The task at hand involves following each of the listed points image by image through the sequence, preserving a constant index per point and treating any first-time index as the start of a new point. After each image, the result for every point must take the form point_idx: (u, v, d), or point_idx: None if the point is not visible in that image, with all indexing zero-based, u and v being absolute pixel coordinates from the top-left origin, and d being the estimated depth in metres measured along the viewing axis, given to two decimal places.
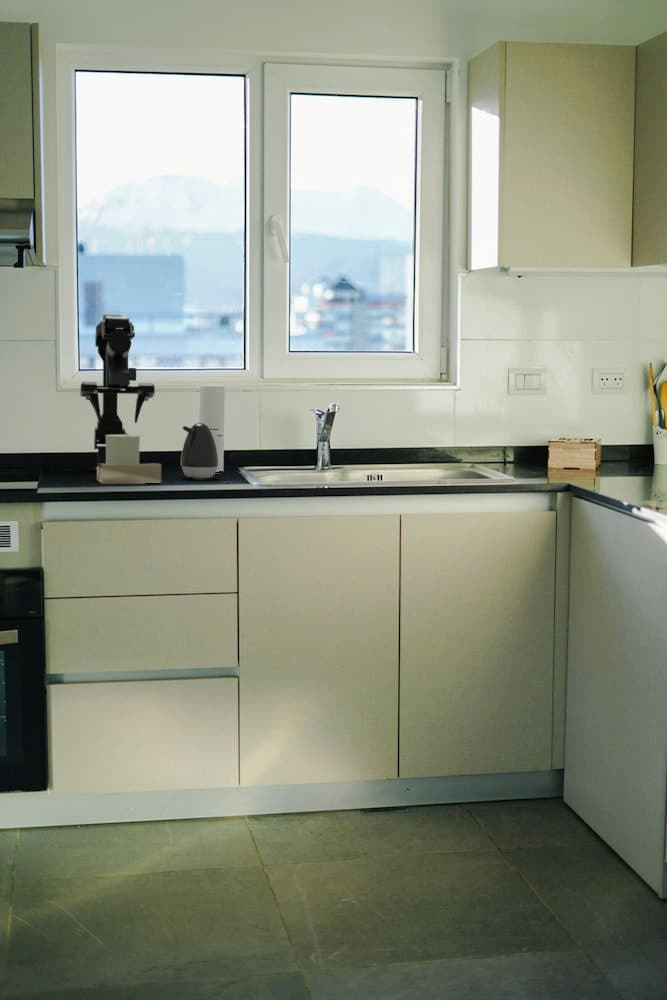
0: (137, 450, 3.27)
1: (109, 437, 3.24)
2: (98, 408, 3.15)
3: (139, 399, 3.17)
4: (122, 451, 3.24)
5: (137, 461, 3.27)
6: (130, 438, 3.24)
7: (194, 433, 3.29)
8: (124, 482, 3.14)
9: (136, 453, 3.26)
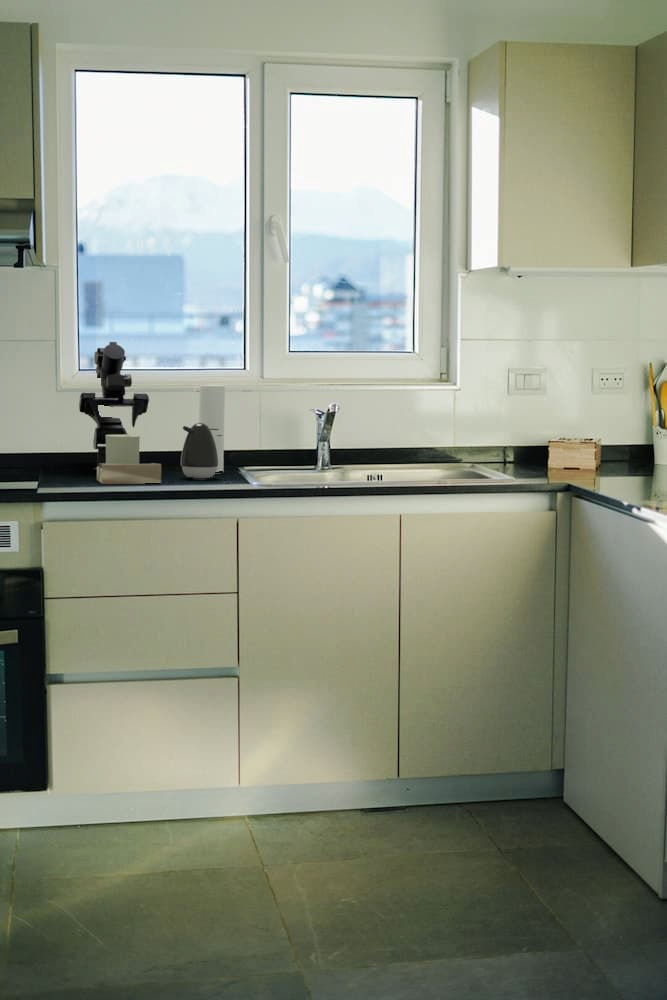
0: (137, 450, 3.27)
1: (109, 437, 3.24)
2: (98, 413, 3.36)
3: (135, 405, 3.40)
4: (122, 451, 3.24)
5: (137, 461, 3.27)
6: (130, 438, 3.24)
7: (194, 433, 3.29)
8: (124, 482, 3.14)
9: (136, 453, 3.26)
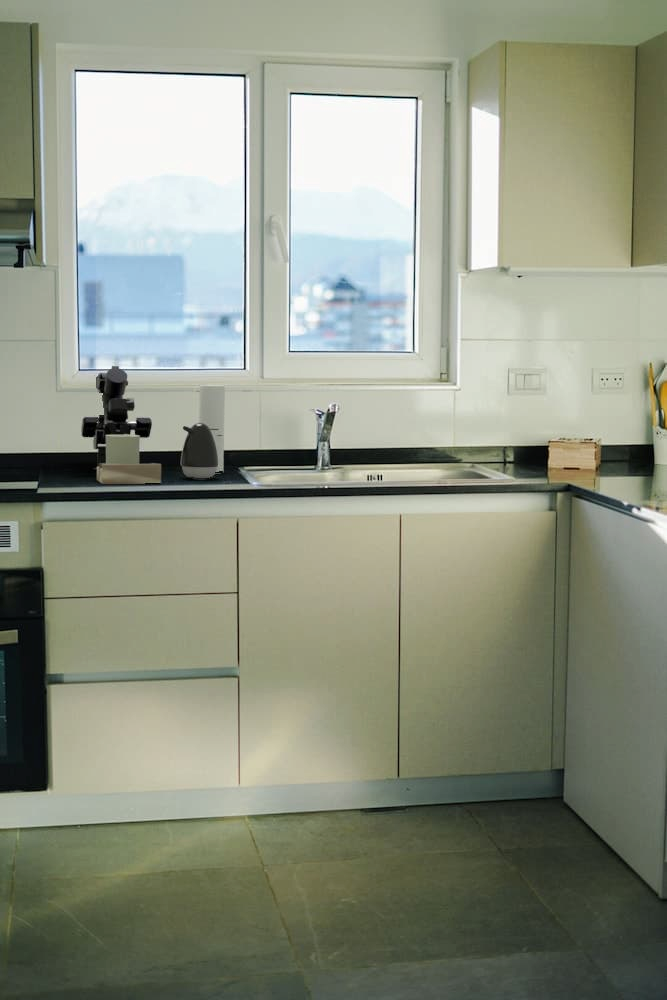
0: (137, 450, 3.26)
1: (109, 437, 3.24)
2: None
3: (122, 429, 3.35)
4: (122, 451, 3.24)
5: (137, 461, 3.27)
6: (130, 438, 3.24)
7: (194, 433, 3.29)
8: (124, 482, 3.14)
9: (136, 453, 3.26)
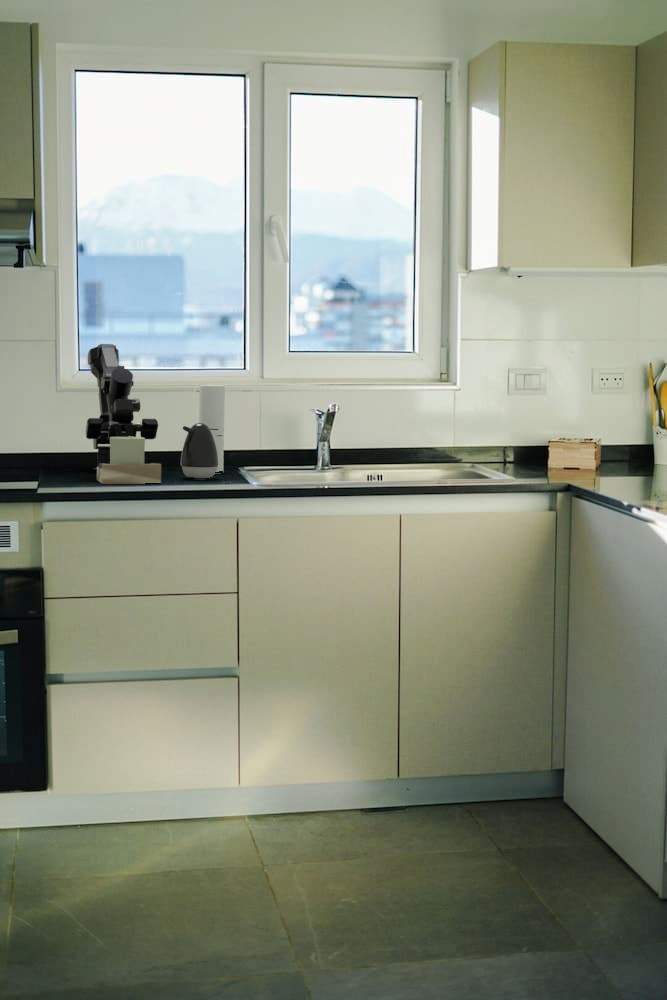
0: (142, 452, 3.18)
1: (113, 439, 3.16)
2: None
3: (127, 431, 3.26)
4: (126, 453, 3.15)
5: None
6: (135, 440, 3.15)
7: (194, 433, 3.29)
8: (124, 482, 3.14)
9: (141, 456, 3.18)
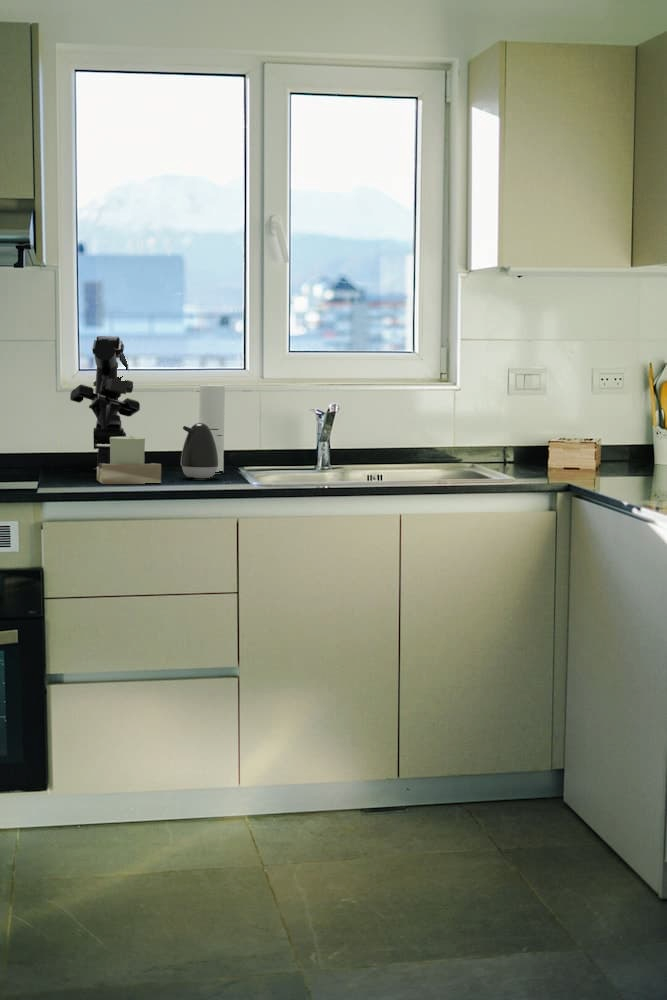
0: (142, 452, 3.18)
1: (113, 439, 3.16)
2: (105, 415, 3.32)
3: (112, 408, 3.34)
4: (126, 453, 3.15)
5: None
6: (135, 440, 3.15)
7: (194, 433, 3.29)
8: (124, 482, 3.14)
9: (141, 456, 3.18)
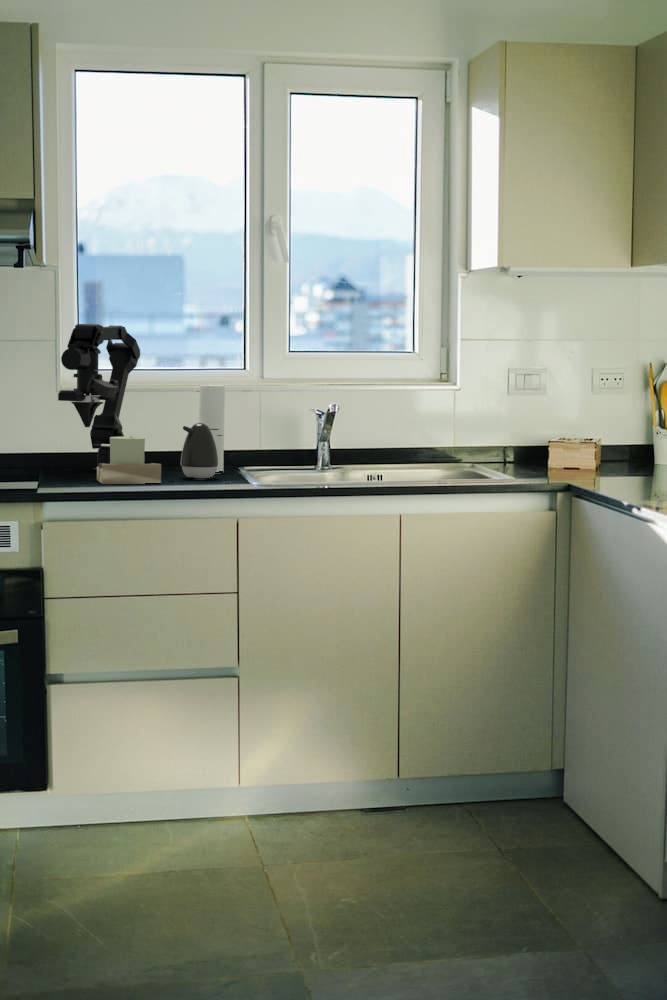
0: (142, 452, 3.18)
1: (113, 439, 3.16)
2: (89, 415, 3.35)
3: (95, 406, 3.36)
4: (126, 453, 3.15)
5: None
6: (135, 440, 3.15)
7: (194, 433, 3.29)
8: (124, 482, 3.14)
9: (141, 456, 3.18)
